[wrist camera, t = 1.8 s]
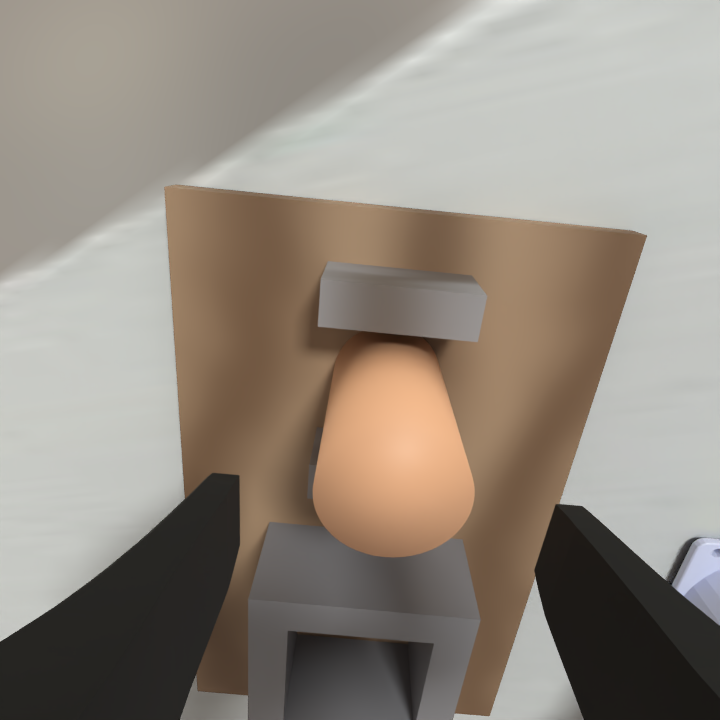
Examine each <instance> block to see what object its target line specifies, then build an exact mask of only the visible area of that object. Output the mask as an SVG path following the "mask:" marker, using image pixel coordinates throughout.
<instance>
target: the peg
mask: <svg viewBox="0 0 720 720" xmlns="http://www.w3.org/2000/svg"><path fill="white" fill-rule="evenodd" d="M474 497H475V487H474V481H473V477H472V473H471V470H470V467H469V463H468V460H467V457H466V453H465V450H464V447H463V443H462V440H461V437H460V433H459V430H458V427H457V423H456V420H455V417H454V413H453V410H452V407H451V403H450V400H449V397H448V393H447V390H446V386H445V383H444V380H443V376H442V373H441V370H440V366H439V363H438V360H437V357H436V354H435V353H434V351H433V349H432V347H431V346H430V345H429V343H428V342H427V341H426V340H425V339H424V338H422V337H419V336H409V335H399V334H388V333H378V332H368V331H361V332H359V333H357V334H356V335H354V336H353V337H352V338H350V339H349V340H348V341H347V342H346V343H345V344H344V346H343V347H342V349H341V350H340V352H339V354H338V356H337V358H336V361H335V366H334V371H333V377H332V382H331V388H330V394H329V399H328V405H327V410H326V416H325V422H324V427H323V433H322V438H321V444H320V450H319V455H318V461H317V466H316V472H315V477H314V483H313V502H314V507H315V510H316V513H317V515H318V517H319V519H320V521H321V522H322V524H323V525H324V527H325V528H326V529H327V530H328V531H329V532H330V533H331V535H333V536H334V537H335V538H336V539H337V540H339V541H340V542H342V543H343V544H345V545H346V546H348V547H350V548H352V549H354V550H357V551H360V552H362V553H365V554H369V555H373V556H380V557H406V556H413V555H417V554H421V553H424V552H427V551H429V550H432V549H434V548H436V547H438V546H440V545H442V544H443V543H445V542H446V541H448V540H449V539H450V538H452V537H453V536H454V535H455V534H456V533H457V532H458V531H459V530H460V529H461V528H462V526H463V525H464V523H465V522H466V521H467V519H468V517H469V515H470V513H471V510H472V507H473V503H474Z"/></svg>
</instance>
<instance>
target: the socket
mask: <svg viewBox="0 0 720 720" xmlns="http://www.w3.org/2000/svg"><path fill="white" fill-rule="evenodd" d="M480 620H481V619H480V615H479V610H478V606H477V601H476V597H475V592H474V588H473V583H472V579H471V575H470V570H469V566H468V561H467V557H466V552H465V548H464V544H463V539H452V538H450V539H449V540H448V541H446V542H445V543H443V544H442V545H440V546H438V547H436V548H434V549H432V550H429V551H427V552H424V553H421V554H417V555H413V556H406V557H380V556H373V555H369V554H365V553H362V552H360V551H357V550H354V549H352V548H350V547H348V546H346V545H345V544H343V543H342V542H340V541H339V540H337V539H336V538H335V537H334V536H333V535H331V533H330V532H329V531H328V530H327V529H326V528H325V527H321V526H310V525H299V524H288V523H277V522H269V526H268V530H267V533H266V537H265V540H264V544H263V548H262V551H261V555H260V558H259V562H258V566H257V569H256V573H255V576H254V580H253V584H252V587H251V591H250V594H249V598H248V720H453V717H454V714H455V710H456V706H457V703H458V699H459V696H460V692H461V688H462V685H463V681H464V678H465V674H466V671H467V667H468V663H469V660H470V656H471V653H472V649H473V646H474V642H475V638H476V635H477V631H478V628H479V624H480ZM297 632H309V633H320V634H331V635H342V636H354V637H365V638H376V639H388V640H399V641H408V644H402V643H391V642H379V641H368V640H357V639H345V638H334V637H323V636H311V635H300V634H297Z"/></svg>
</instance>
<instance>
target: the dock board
mask: <svg viewBox="0 0 720 720" xmlns="http://www.w3.org/2000/svg"><path fill="white" fill-rule="evenodd" d="M164 188H165V203H166V219H167V234H168V249H169V264H170V279H171V294H172V310H173V325H174V340H175V355H176V370H177V385H178V401H179V416H180V431H181V446H182V461H183V476H184V492H185V498H186V497H188V496H189V495H190V494H191V493H192V492H193V491H194V490H195V489H196V488H197V487H198V486H199V485H200V484H201V483H202V482H203V481H204V480H205V479H206V478H207V477H208V476H209V475H210V474H212V473H222V474H233V475H240V547H239V551H238V555H237V559H236V563H235V567H234V571H233V574H232V578H231V582H230V585H229V589H228V592H227V594H226V597H225V600H224V602H223V605H222V608H221V610H220V613H219V616H218V618H217V621H216V623H215V626H214V629H213V631H212V634H211V636H210V639H209V642H208V644H207V647H206V649H205V652H204V655H203V657H202V660H201V663H200V665H199V668H198V670H197V673H196V674H197V689H198V691H203V692H215V693H227V694H238V695H248V598H249V594H250V591H251V587H252V584H253V580H254V576H255V573H256V569H257V566H258V562H259V558H260V555H261V551H262V548H263V544H264V540H265V537H266V533H267V530H268V526H269V522H277V523H288V524H299V525H310V526H321V527H324V525H323V524H322V522H321V521H320V519H319V517H318V515H317V513H316V510H315V507H314V502H313V483H314V477H315V472H316V466H317V461H318V455H319V450H320V444H321V438H322V433H323V427H324V422H325V416H326V410H327V405H328V399H329V394H330V388H331V382H332V377H333V371H334V366H335V361H336V358H337V356H338V354H339V352H340V350H341V349H342V347H343V346H344V344H345V343H346V342H347V341H348V340H349V339H350V338H352V337H353V336H354V335H356V334H357V333H359V332H361V331H368V332H378V333H388V334H399V335H409V336H419V337H422V338H424V339H425V340H426V341H427V342H428V343H429V345H430V346H431V347H432V349H433V351H434V353H435V354H436V357H437V360H438V363H439V366H440V370H441V373H442V376H443V380H444V383H445V386H446V390H447V393H448V397H449V400H450V403H451V407H452V410H453V413H454V417H455V420H456V423H457V427H458V430H459V433H460V437H461V440H462V443H463V447H464V450H465V453H466V457H467V460H468V463H469V467H470V470H471V473H472V477H473V481H474V487H475V497H474V503H473V507H472V510H471V513H470V515H469V517H468V519H467V521H466V522H465V523H464V525H463V526H462V528H461V529H460V530H459V531H458V532H457V533H456V534H455V535H454V536H453V537H452V539H463V544H464V548H465V552H466V557H467V561H468V566H469V570H470V575H471V579H472V583H473V588H474V592H475V597H476V601H477V606H478V610H479V615H480V619H481V620H480V624H479V628H478V631H477V635H476V638H475V642H474V646H473V649H472V653H471V656H470V660H469V663H468V667H467V671H466V674H465V678H464V681H463V685H462V688H461V692H460V696H459V699H458V703H457V706H456V710H455V713H458V714H470V715H481V716H490V713H491V710H492V707H493V704H494V701H495V698H496V695H497V692H498V689H499V685H500V682H501V679H502V676H503V673H504V670H505V667H506V664H507V661H508V658H509V655H510V652H511V649H512V646H513V643H514V640H515V637H516V634H517V631H518V628H519V624H520V621H521V618H522V615H523V612H524V609H525V606H526V603H527V600H528V597H529V594H530V591H531V588H532V585H533V582H534V579H535V572H534V569H535V566H536V563H537V560H538V557H539V554H540V551H541V548H542V544H543V541H544V538H545V535H546V532H547V529H548V526H549V523H550V520H551V517H552V514H553V511H554V508H555V505H556V504H559V503H560V499H561V496H562V493H563V490H564V487H565V484H566V481H567V478H568V475H569V472H570V469H571V466H572V463H573V460H574V457H575V454H576V451H577V448H578V445H579V442H580V438H581V435H582V432H583V429H584V426H585V423H586V420H587V417H588V414H589V411H590V408H591V405H592V402H593V399H594V396H595V393H596V390H597V387H598V384H599V381H600V377H601V374H602V371H603V368H604V365H605V362H606V359H607V356H608V353H609V350H610V347H611V344H612V341H613V338H614V335H615V332H616V329H617V326H618V323H619V320H620V316H621V313H622V310H623V307H624V304H625V301H626V298H627V295H628V292H629V289H630V286H631V283H632V280H633V277H634V274H635V271H636V268H637V265H638V262H639V259H640V255H641V252H642V249H643V246H644V243H645V240H646V237H647V235H644V234H641V233H638V232H635V231H630V230H620V229H610V228H600V227H590V226H580V225H570V224H560V223H551V222H541V221H531V220H521V219H511V218H501V217H491V216H481V215H471V214H461V213H451V212H442V211H432V210H422V209H412V208H402V207H392V206H382V205H372V204H362V203H352V202H342V201H333V200H323V199H313V198H303V197H293V196H283V195H273V194H263V193H253V192H243V191H233V190H224V189H214V188H204V187H194V186H184V185H172V186H166V187H164ZM297 634H300V635H311V636H323V637H334V638H345V639H357V640H368V641H379V642H391V643H402V644H408V641H399V640H388V639H376V638H365V637H354V636H342V635H331V634H320V633H309V632H297Z"/></svg>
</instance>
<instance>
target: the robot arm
mask: <svg viewBox="0 0 720 720" xmlns="http://www.w3.org/2000/svg"><path fill="white" fill-rule="evenodd" d="M239 547H240V475H233V474H222V473H212V474H210V475H209V476H208V477H207V478H206V479H205V480H204V481H203V482H202V483H201V484H200V485H199V486H198V487H197V488H196V489H195V490H194V491H193V492H192V493H191V494H190V495H189V496H188V497H186V498H185V499H184V500H183V501H182V502H181V503H180V504H179V505H178V506H177V507H176V508H175V509H174V510H173V511H172V512H171V513H170V514H169V515H168V516H167V517H166V518H164V519H163V520H162V521H161V522H160V523H159V524H158V525H157V526H156V527H155V528H154V529H152V530H151V531H150V532H149V533H148V534H147V535H146V536H145V537H144V538H142V539H141V540H140V541H139V542H138V543H137V544H135V545H134V546H133V547H132V548H131V549H129V550H128V551H127V552H126V553H125V554H123V555H122V556H121V557H120V558H119V559H117V560H116V561H115V562H114V563H113V564H111V565H110V566H109V567H108V568H106V569H105V570H104V571H103V572H101V573H100V574H99V575H97V576H96V577H95V578H94V579H92V580H91V581H90V582H88V583H87V584H86V585H84V586H83V587H82V588H80V589H79V590H78V591H76V592H75V593H73V594H72V595H71V596H69V597H68V598H66V599H65V600H64V601H62V602H61V603H59V604H58V605H57V606H55V607H54V608H52V609H51V610H49V611H48V612H46V613H45V614H43V615H42V616H40V617H39V618H37V619H35V620H34V621H32V622H31V623H29V624H28V625H26V626H24V627H23V628H21V629H20V630H18V631H17V632H15V633H13V634H12V635H10V636H9V637H7V638H5V639H4V640H2V641H1V642H0V720H180V718H181V715H182V712H183V709H184V706H185V703H186V700H187V697H188V694H189V691H190V689H191V686H192V683H193V681H194V678H195V676H196V673H197V670H198V668H199V665H200V663H201V660H202V657H203V655H204V652H205V649H206V647H207V644H208V642H209V639H210V636H211V634H212V631H213V629H214V626H215V623H216V621H217V618H218V616H219V613H220V610H221V608H222V605H223V602H224V600H225V597H226V594H227V592H228V589H229V585H230V582H231V578H232V574H233V571H234V567H235V563H236V559H237V555H238V551H239ZM534 572H535V576H536V581H537V585H538V590H539V594H540V598H541V602H542V606H543V610H544V614H545V617H546V620H547V622H548V625H549V628H550V631H551V633H552V636H553V639H554V642H555V644H556V647H557V650H558V652H559V655H560V658H561V660H562V663H563V666H564V668H565V671H566V673H567V676H568V679H569V681H570V684H571V687H572V689H573V692H574V695H575V697H576V700H577V702H578V705H579V708H580V710H581V713H582V716H583V718H584V720H720V539H713V538H700V539H697V540H696V541H694V542H693V543H692V545H691V547H690V549H689V551H688V553H687V555H686V557H685V559H684V561H683V563H682V565H681V567H680V569H679V571H678V573H677V575H676V577H675V579H674V582H673V584H672V586H671V585H670V584H669V583H668V582H667V581H666V580H664V579H663V578H662V577H661V576H660V575H659V574H658V573H656V572H655V571H654V570H653V569H652V568H651V567H650V566H649V565H647V564H646V563H645V562H644V561H643V560H642V559H641V558H640V557H639V556H638V555H636V554H635V553H634V552H633V551H632V550H631V549H630V548H629V547H628V546H627V545H625V544H624V543H623V542H622V541H621V540H620V539H619V538H618V537H617V536H616V535H614V534H613V533H612V532H611V531H610V530H609V529H608V528H607V527H606V526H605V525H603V524H602V523H601V522H600V521H599V520H598V519H597V518H596V517H594V516H593V515H592V514H591V513H590V512H589V511H587V510H586V509H585V508H584V507H583V506H574V505H563V504H556V505H555V508H554V511H553V514H552V517H551V520H550V523H549V526H548V529H547V532H546V535H545V538H544V541H543V544H542V548H541V551H540V554H539V557H538V560H537V563H536V566H535V569H534Z"/></svg>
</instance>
